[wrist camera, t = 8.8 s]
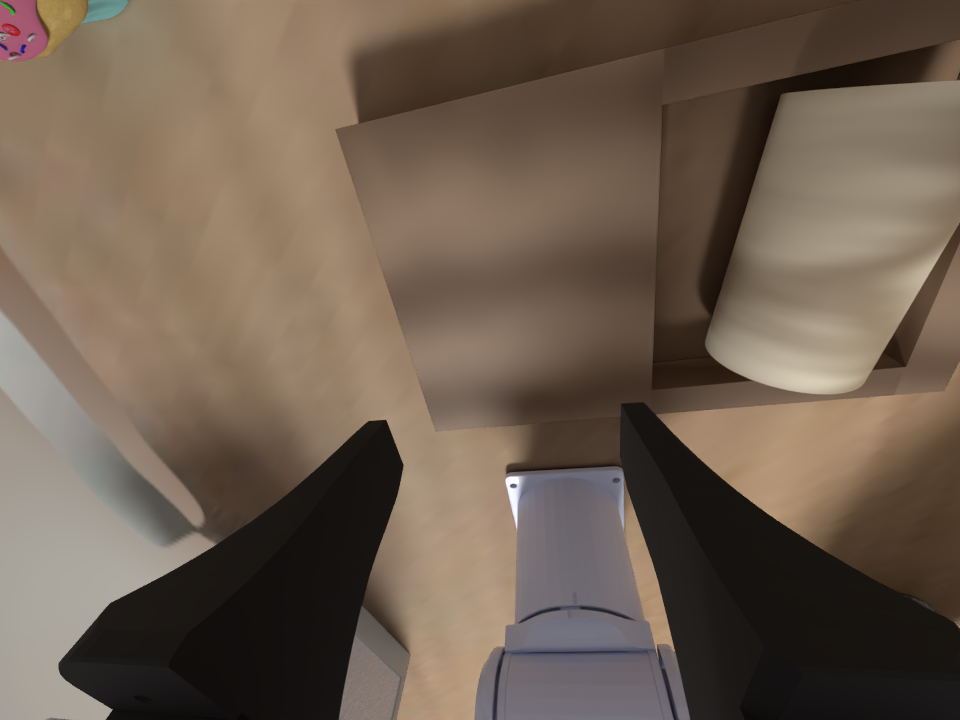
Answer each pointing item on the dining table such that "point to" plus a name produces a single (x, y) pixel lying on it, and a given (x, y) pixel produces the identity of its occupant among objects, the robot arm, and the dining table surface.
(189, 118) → the dining table surface
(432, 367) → the board
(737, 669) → the robot arm
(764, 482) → the dining table surface
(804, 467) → the dining table surface
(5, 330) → the dining table surface
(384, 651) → the red white striped box
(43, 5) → the cupcake
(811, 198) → the roller
